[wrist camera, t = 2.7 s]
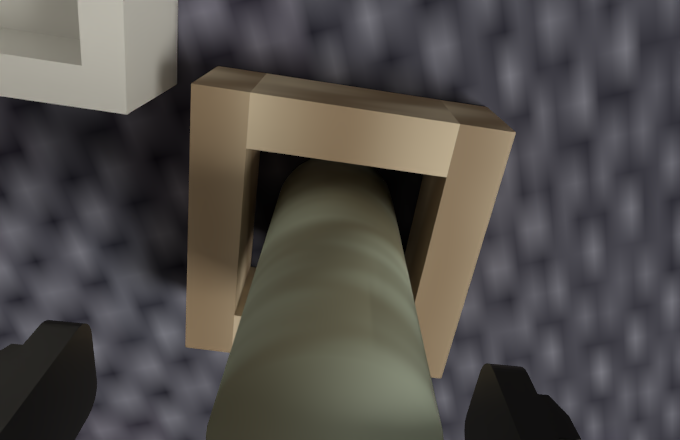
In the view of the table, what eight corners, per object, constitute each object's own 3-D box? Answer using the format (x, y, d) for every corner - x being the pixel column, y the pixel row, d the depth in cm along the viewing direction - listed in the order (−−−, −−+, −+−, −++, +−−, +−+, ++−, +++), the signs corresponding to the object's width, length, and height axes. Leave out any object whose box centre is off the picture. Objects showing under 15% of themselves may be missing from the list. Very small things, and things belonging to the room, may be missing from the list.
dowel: (402, 163, 17) (470, 373, 8) (381, 266, 19) (416, 536, 9) (283, 146, 17) (210, 341, 8) (272, 251, 18) (202, 514, 9)
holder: (486, 107, 16) (515, 132, 13) (427, 323, 20) (441, 378, 17) (217, 66, 16) (191, 83, 13) (208, 295, 19) (185, 347, 16)
